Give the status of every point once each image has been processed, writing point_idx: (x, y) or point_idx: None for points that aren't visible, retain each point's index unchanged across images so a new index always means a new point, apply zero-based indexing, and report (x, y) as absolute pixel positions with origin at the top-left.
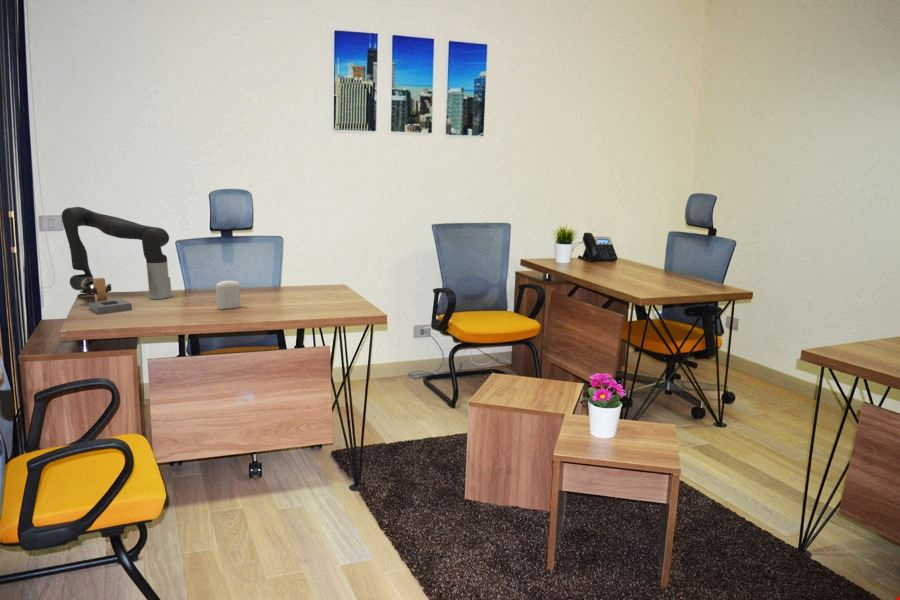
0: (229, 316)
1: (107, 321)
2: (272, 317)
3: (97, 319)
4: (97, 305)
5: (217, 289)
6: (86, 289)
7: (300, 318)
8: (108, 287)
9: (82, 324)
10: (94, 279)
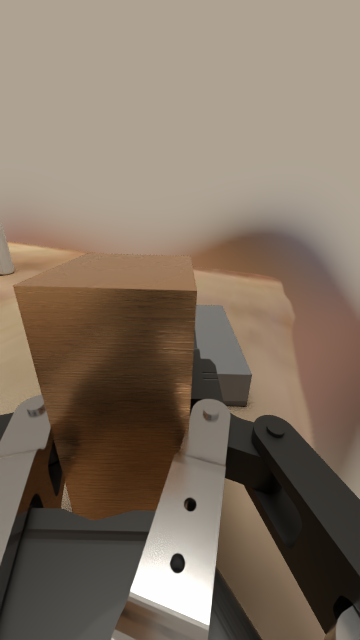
0: (55, 260)
1: (211, 289)
2: (37, 251)
3: (227, 302)
4: (216, 321)
5: (1, 230)
6: (290, 438)
7: (30, 247)
8: (2, 416)
9: (260, 292)
10: (190, 264)
